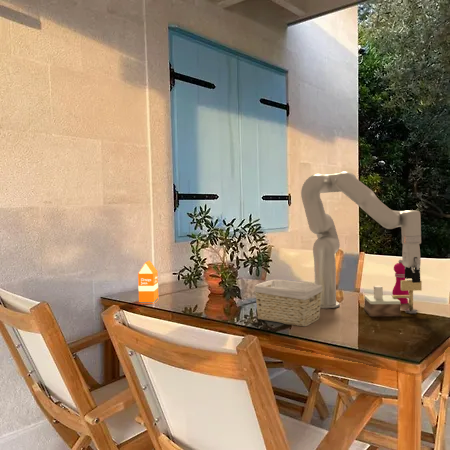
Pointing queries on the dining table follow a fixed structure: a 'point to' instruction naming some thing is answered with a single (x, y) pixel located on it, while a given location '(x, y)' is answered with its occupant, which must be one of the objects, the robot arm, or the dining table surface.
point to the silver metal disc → (411, 311)
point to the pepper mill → (400, 275)
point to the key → (409, 286)
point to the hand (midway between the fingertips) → (412, 280)
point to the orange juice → (148, 283)
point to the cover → (380, 297)
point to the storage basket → (288, 302)
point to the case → (382, 309)
